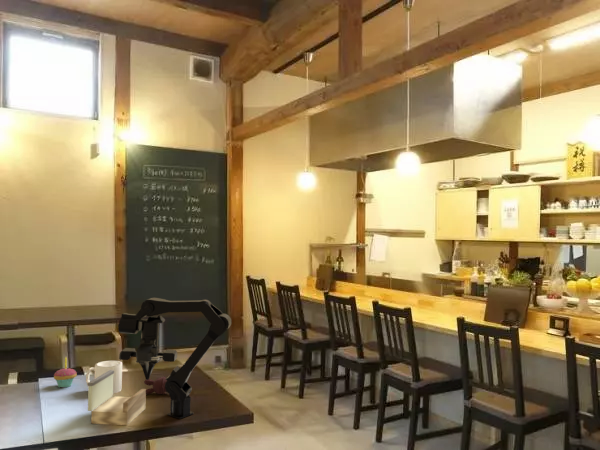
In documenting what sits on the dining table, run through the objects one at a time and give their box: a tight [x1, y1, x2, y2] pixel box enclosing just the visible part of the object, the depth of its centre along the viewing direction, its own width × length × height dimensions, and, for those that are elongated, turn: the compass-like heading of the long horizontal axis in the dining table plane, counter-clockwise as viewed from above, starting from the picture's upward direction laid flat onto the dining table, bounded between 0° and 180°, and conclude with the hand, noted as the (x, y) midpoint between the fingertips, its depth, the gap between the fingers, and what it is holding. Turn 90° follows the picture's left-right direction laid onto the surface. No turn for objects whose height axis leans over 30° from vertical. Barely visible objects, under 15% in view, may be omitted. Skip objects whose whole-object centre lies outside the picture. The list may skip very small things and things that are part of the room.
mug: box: [85, 360, 123, 395], centre depth 200 cm, size 14×10×11 cm
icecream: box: [143, 376, 168, 395], centre depth 197 cm, size 7×7×15 cm
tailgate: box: [87, 370, 114, 412], centre depth 172 cm, size 2×16×9 cm, turn 176°
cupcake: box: [53, 356, 77, 388], centre depth 206 cm, size 9×8×12 cm
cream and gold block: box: [90, 388, 147, 426], centre depth 172 cm, size 12×16×7 cm
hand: (147, 379), depth 175 cm, fingers closed
